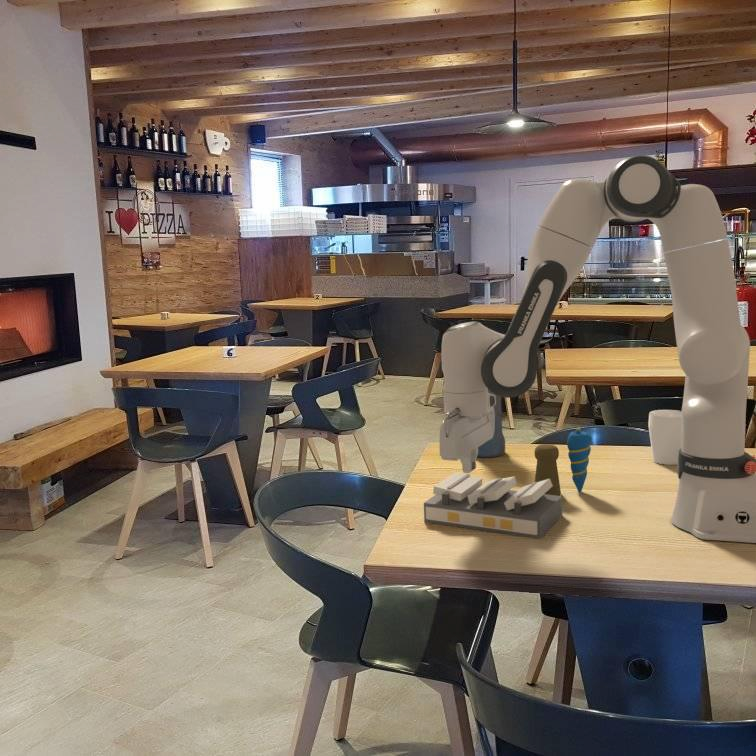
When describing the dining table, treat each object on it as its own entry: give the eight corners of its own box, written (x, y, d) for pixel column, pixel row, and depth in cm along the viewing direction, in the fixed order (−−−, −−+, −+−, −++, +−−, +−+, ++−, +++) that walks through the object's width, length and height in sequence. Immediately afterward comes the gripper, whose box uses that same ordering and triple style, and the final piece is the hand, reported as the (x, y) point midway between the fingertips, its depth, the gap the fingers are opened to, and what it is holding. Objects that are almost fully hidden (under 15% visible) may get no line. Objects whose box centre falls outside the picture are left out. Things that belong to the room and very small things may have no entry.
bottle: (507, 457, 205) (505, 341, 200) (469, 459, 205) (466, 343, 200) (502, 448, 214) (500, 337, 209) (465, 449, 214) (462, 338, 210)
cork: (541, 488, 178) (540, 440, 177) (566, 492, 175) (565, 443, 173) (527, 495, 174) (527, 446, 172) (553, 500, 170) (552, 450, 168)
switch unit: (562, 515, 161) (562, 485, 160) (539, 539, 148) (539, 507, 147) (453, 501, 172) (452, 473, 171) (423, 522, 160) (422, 492, 159)
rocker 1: (517, 483, 163) (514, 474, 163) (496, 500, 153) (494, 490, 153) (490, 487, 166) (488, 479, 166) (469, 504, 156) (466, 494, 156)
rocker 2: (553, 485, 159) (549, 476, 159) (534, 502, 149) (530, 493, 149) (526, 493, 162) (523, 484, 162) (506, 510, 152) (502, 501, 153)
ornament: (595, 491, 175) (595, 424, 172) (584, 497, 171) (584, 428, 169) (574, 486, 178) (574, 421, 176) (562, 492, 175) (562, 426, 172)
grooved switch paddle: (482, 485, 167) (483, 476, 166) (460, 501, 157) (460, 492, 157) (455, 478, 170) (456, 469, 169) (432, 493, 160) (433, 485, 160)
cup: (690, 458, 196) (691, 411, 194) (682, 468, 189) (683, 418, 187) (653, 455, 201) (653, 408, 199) (643, 464, 194) (644, 415, 192)
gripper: (459, 415, 149) (463, 486, 151) (499, 394, 166) (501, 459, 168) (429, 413, 152) (433, 484, 154) (470, 394, 169) (474, 457, 171)
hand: (469, 470), depth 161 cm, fingers closed
